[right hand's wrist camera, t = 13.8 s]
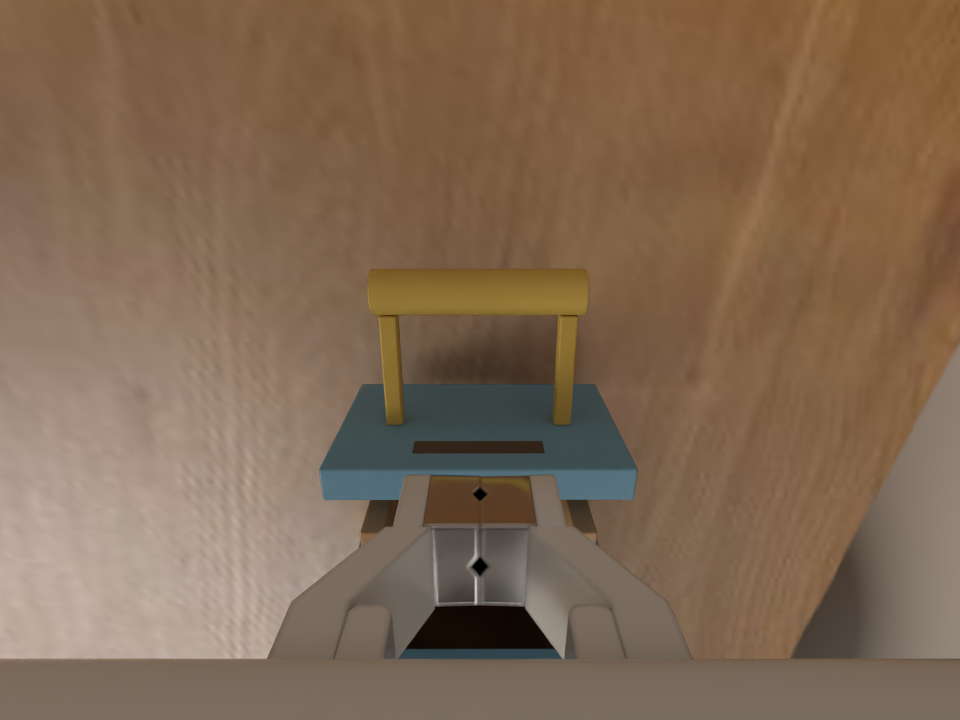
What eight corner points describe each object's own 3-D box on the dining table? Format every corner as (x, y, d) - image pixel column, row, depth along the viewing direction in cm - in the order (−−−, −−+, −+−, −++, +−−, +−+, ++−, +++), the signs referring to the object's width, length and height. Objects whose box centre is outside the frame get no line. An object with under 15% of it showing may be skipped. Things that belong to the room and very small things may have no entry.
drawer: (349, 251, 20) (293, 292, 14) (607, 250, 20) (662, 292, 14) (390, 690, 29) (368, 829, 23) (567, 690, 29) (590, 829, 23)
